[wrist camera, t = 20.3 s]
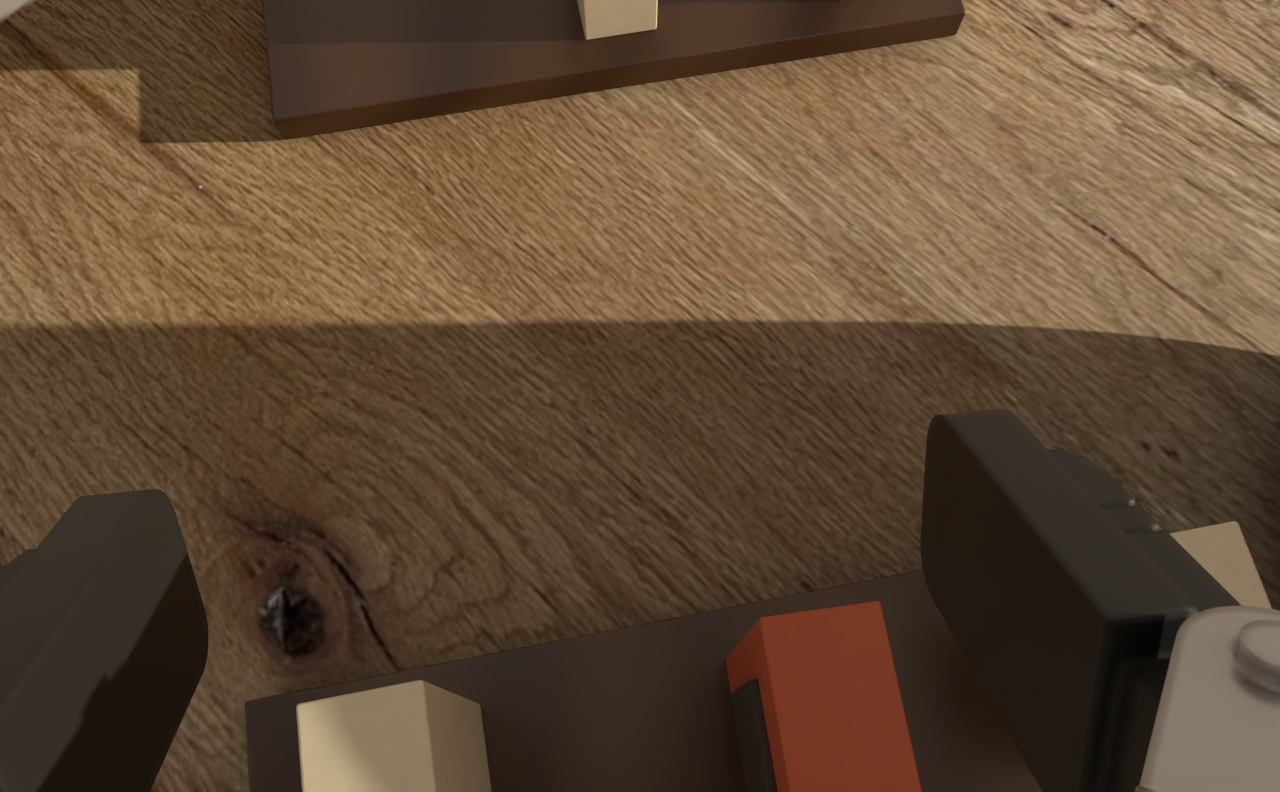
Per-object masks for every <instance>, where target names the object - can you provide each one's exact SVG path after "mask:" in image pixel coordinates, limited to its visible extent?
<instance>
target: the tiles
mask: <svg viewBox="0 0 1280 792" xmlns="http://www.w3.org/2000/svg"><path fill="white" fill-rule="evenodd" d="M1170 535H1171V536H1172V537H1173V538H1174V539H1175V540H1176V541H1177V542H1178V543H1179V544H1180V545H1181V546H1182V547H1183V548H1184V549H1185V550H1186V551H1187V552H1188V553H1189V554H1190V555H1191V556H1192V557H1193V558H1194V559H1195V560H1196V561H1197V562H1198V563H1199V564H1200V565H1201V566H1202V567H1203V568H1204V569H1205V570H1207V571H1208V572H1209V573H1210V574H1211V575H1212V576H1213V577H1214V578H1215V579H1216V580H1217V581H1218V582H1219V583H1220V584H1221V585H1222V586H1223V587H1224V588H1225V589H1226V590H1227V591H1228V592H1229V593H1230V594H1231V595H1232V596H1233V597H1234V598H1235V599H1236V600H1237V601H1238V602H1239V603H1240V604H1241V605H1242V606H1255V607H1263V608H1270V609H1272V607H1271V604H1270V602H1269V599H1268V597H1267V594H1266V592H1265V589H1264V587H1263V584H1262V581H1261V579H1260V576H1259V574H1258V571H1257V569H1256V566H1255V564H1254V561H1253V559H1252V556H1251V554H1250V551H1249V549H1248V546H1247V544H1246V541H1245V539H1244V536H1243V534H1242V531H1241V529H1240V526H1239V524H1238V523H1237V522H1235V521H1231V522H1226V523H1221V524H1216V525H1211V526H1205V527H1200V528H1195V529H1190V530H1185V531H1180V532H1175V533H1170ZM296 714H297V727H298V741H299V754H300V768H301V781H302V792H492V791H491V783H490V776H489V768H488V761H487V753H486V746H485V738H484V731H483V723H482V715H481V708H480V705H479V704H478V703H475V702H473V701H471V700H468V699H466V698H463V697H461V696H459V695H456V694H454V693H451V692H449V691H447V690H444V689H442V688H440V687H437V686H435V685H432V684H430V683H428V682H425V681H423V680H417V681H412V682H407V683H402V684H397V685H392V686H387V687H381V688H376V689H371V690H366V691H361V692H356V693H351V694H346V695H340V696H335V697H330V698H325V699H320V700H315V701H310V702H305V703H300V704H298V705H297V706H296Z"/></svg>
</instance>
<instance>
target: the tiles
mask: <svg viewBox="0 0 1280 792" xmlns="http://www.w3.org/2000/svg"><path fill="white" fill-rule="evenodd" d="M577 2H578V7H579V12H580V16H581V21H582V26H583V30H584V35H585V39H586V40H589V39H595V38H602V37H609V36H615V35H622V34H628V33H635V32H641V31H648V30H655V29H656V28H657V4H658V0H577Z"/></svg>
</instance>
